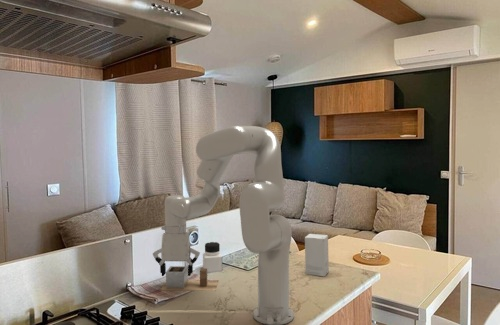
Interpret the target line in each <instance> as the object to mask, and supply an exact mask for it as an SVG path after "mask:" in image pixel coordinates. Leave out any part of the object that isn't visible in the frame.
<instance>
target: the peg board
mask: <svg viewBox="0 0 500 325" xmlns="http://www.w3.org/2000/svg"><path fill="white" fill-rule="evenodd" d="M173 272H181V268H174V269H173ZM219 281H220V280H215V279H212V280H211V279H208V272H207V268H203V267H202V268H200V269H199V279H198V280H197V279H195V280H194V279H188V283H187V284H186V286H185V288H184V289H166V281H165V282H164V284H163V285H162V287H161V288H160V290H159V292H160V291H161V292H162V291H167V292H168V291H171V292H174V291H175V292H177V291H179V292H181V291H182V292H184V291H185V292H215V291H217V287H218V285H219Z"/></svg>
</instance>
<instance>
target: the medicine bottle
mask: <svg viewBox="0 0 500 325" xmlns="http://www.w3.org/2000/svg"><path fill="white" fill-rule="evenodd" d="M220 246H221V245H220V243H219V242H217V241H208V242H206V243H204V252H203V253H202V268H207V273H213V272H215V273H216V272H222V271H223V255H222V254H221V252H220Z"/></svg>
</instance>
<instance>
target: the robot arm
mask: <svg viewBox="0 0 500 325" xmlns="http://www.w3.org/2000/svg"><path fill="white" fill-rule="evenodd" d="M195 146H196V147H195V153H196V155H197V157H198V158H199V159H200V160H201V161H200V163H199V165H198V167H197V169H196V175H197V177H198V178H199V180H201V181H202V182H204V185H203V188H202V189H201V191H200V193H199V194H197V195H192V196H187V197H185V196H184V195H181V194H178V195H176V194H175V195H174V194H172V195H169V196H166V197H165V198H164V219H165V220H164V222H165V223H164V225H162V226H161V227H160V228H161V230H162V231H164V232H163V234H162V239H161V247H160V248H159V249H157V250H155V251H154V252H152V256H153V259H154V260H155V262H157V263H158V264H159V266H160V269H159V272H160V274H161V277H164V276H166V272H167V270H166V269H167V268H166V266H167V265H166V263H165V262H186V263H187V266H188V277H190V276H191V275H192V274H193V271H194V270H193V269H194V266H193V265H194V263H195V262H196V261H197V260H198V259H199V256H200V253H201V252H200V251H199V250H196V249H194V248H192V247H191V242H190V235H189V232H188V231H187V220H191V219H195V218H198V217H201V216H204V215H205V216H206V215H207V214H209V213H210V212H211V210H213V208H214V206H215V205H216V202H217V201H218V199H219V196H220V191H221V184H220V180H221V178H222V177H223V175H224V173H225V171H226V169H227V168H228V166H229V164H230V163H231V160H233V157H234V156H236V155H244V154H255V155H256V157H255V160H254V165H253V167H254V168H253V173H254V182H251V183H248V184H247V185H246V186H245V187H243V189H242V190H241V193H240V195H239V200H238V201H239V205H238V206H239V215H240V228H241V236H242V241H243V244H244V246H245V247H246V248H247V250H248V251H249V252H250V253H251V254H252V253H253V254H255V255H257V254H258V258H257V259H258V261H257V296H258V297H257V298H258V299H257V306H256V308H254V309H253V312H252V314H253V315H252V316H253V318H254V320H256V321H257V322H258V323H261V324H264V325H285V324H288V323H290V322H291V321H293V320H294V319H295V318H294V317H295V312H294V310H293V309H292V308H290V300H289V299H290V293H289V292H290V290H289V289H290V286H289V285H290V249H291V242H292V237H293V235H292V233H293V231H292V230H293V229H292V226H291V223H290V221H289V220H288V219H287V218H286V217H285V216H283V215H281V214H270V213H271V212H274V211H276V210H278V209H280V208H282V207H283V205H284V204H285V188H284V187H285V186H284V176H283V167H282V152H281V151H282V150H281V148H282V147H281V143H280V141H279V139H278V137H277V135H276V134H275V133H274V132H273V131H272V130H270V129H268V128H266V127H262V126H255V125H231V126H228V127H225V128H222V129H218V130H216V131H213V132H209V133H207V134H205V135H203V136H201V137H200V138H199V139H198V141H197V143H196V145H195ZM159 254H160V255H161V256H159ZM191 254H193V255H194V256H193V258H192V257H191Z"/></svg>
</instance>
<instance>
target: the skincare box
mask: <svg viewBox="0 0 500 325" xmlns="http://www.w3.org/2000/svg"><path fill="white" fill-rule="evenodd" d="M304 254H305V258H304V260H305V262H304V263H305V264H304V265H305V275H310V276H317V277H318V276H319V277H326V276H327V274H328V273H329V272H330V271H329V269H330V267H329V236H328V235H327V234H319V233H318V234H317V233H308V234H307V235H306V236H305V237H304Z"/></svg>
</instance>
